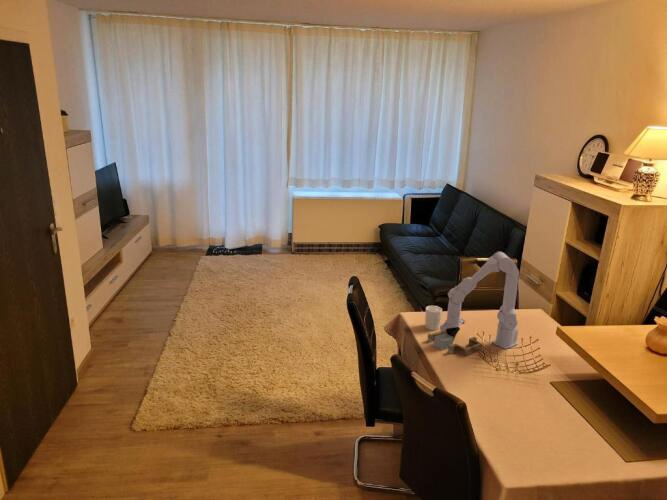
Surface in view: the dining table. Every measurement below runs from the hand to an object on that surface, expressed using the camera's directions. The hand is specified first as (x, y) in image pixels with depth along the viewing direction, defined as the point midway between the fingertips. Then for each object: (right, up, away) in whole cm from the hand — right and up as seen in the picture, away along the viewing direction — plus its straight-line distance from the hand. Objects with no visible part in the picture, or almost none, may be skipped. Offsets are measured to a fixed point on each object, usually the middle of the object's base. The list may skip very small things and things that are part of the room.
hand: (450, 341), depth 230 cm
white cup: (-6, +4, +15) cm, 17 cm away
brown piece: (+2, -1, -1) cm, 3 cm away
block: (-4, -2, -3) cm, 5 cm away
